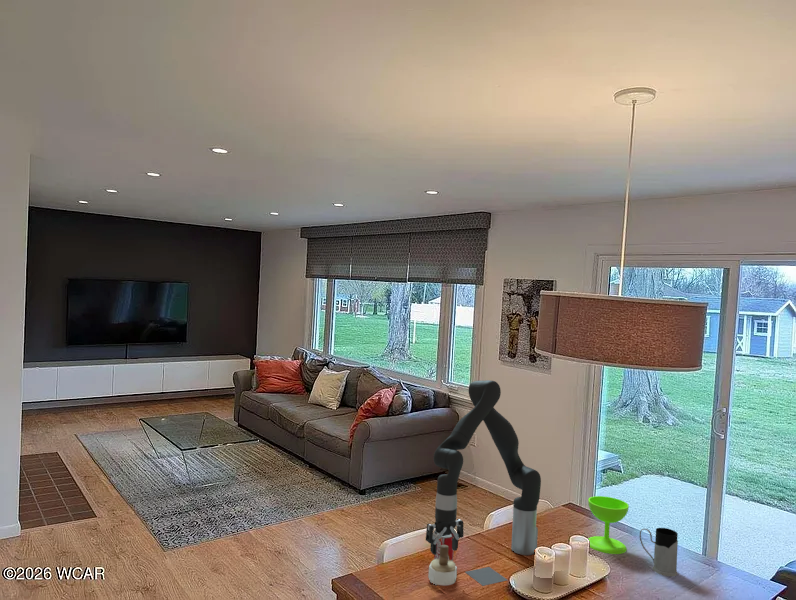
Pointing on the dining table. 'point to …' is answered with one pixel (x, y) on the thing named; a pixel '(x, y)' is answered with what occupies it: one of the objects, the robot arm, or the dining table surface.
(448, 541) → the soda can
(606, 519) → the wineglass
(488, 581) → the mat
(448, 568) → the lid
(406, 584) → the dining table surface
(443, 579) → the bowl
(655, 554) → the glass holder
